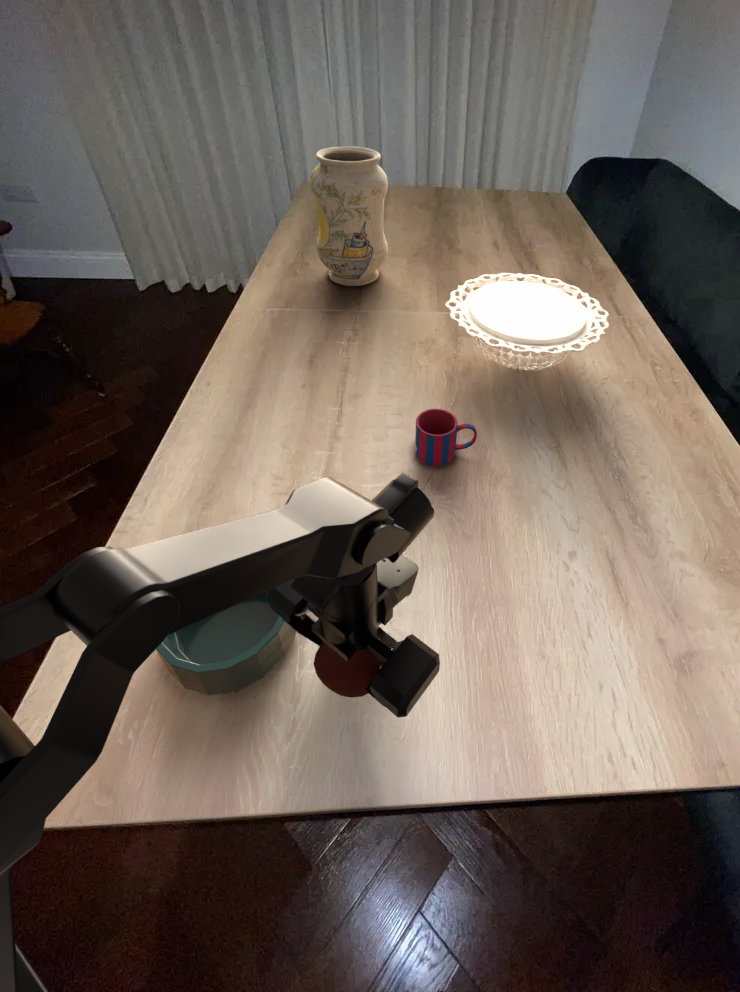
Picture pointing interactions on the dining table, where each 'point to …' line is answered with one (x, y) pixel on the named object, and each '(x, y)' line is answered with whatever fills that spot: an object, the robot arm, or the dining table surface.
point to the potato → (345, 671)
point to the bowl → (228, 648)
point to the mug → (439, 437)
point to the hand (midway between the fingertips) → (354, 667)
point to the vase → (350, 213)
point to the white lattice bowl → (527, 319)
